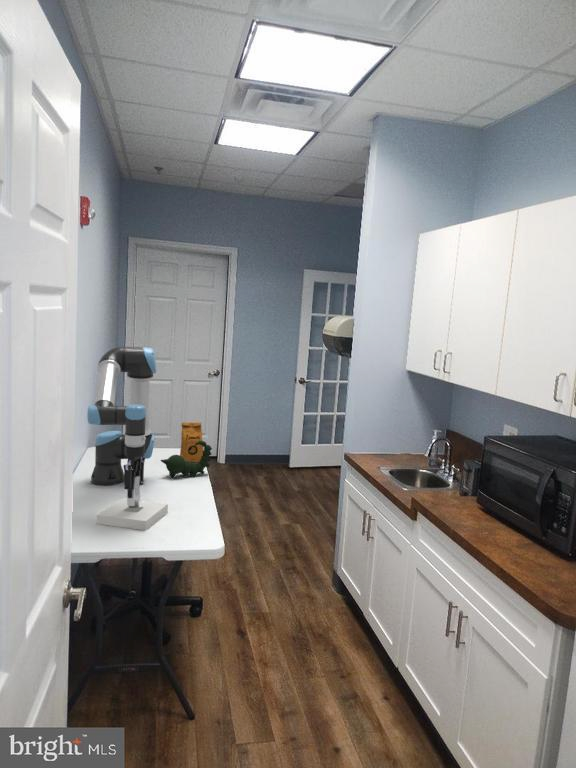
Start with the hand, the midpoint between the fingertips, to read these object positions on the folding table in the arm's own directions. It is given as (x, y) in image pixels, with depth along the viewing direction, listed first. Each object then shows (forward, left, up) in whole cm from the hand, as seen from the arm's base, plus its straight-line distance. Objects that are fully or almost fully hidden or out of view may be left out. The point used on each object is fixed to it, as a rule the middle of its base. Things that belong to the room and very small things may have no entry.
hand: (133, 503), depth 213 cm
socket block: (0, 0, -6) cm, 6 cm away
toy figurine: (-60, -2, -6) cm, 61 cm away
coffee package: (-88, -9, -6) cm, 88 cm away
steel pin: (0, 0, -1) cm, 1 cm away
